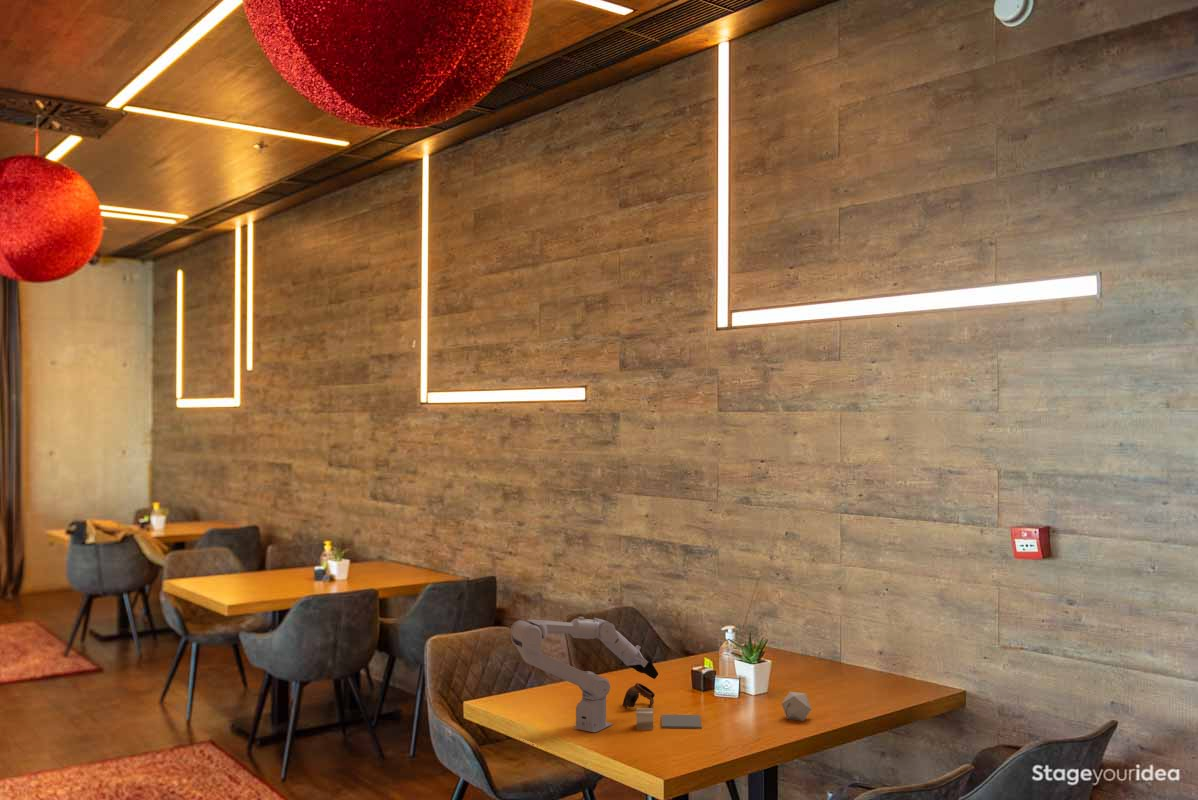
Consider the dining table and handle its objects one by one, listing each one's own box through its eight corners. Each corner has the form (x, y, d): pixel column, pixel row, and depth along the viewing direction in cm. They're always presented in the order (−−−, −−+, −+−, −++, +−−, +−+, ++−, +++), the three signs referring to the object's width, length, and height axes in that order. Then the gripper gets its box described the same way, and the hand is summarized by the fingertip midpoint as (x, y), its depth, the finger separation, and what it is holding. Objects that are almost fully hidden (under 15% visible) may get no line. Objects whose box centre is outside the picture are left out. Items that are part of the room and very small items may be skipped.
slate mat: (701, 728, 297) (701, 726, 297) (661, 728, 297) (661, 726, 297) (700, 717, 309) (700, 715, 309) (661, 716, 309) (661, 714, 309)
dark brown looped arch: (626, 702, 327) (638, 680, 328) (649, 719, 323) (661, 697, 323) (612, 702, 317) (625, 679, 317) (636, 719, 312) (649, 696, 313)
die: (780, 716, 311) (774, 696, 306) (800, 700, 314) (795, 680, 309) (797, 732, 305) (792, 712, 300) (818, 715, 307) (813, 695, 302)
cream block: (653, 730, 296) (653, 713, 296) (636, 729, 296) (636, 712, 296) (653, 725, 301) (653, 708, 301) (636, 724, 301) (636, 708, 301)
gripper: (640, 641, 299) (669, 668, 303) (618, 632, 312) (645, 657, 316) (627, 660, 297) (656, 687, 301) (604, 650, 310) (632, 676, 314)
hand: (649, 673), depth 309 cm, fingers open, 7 cm apart
